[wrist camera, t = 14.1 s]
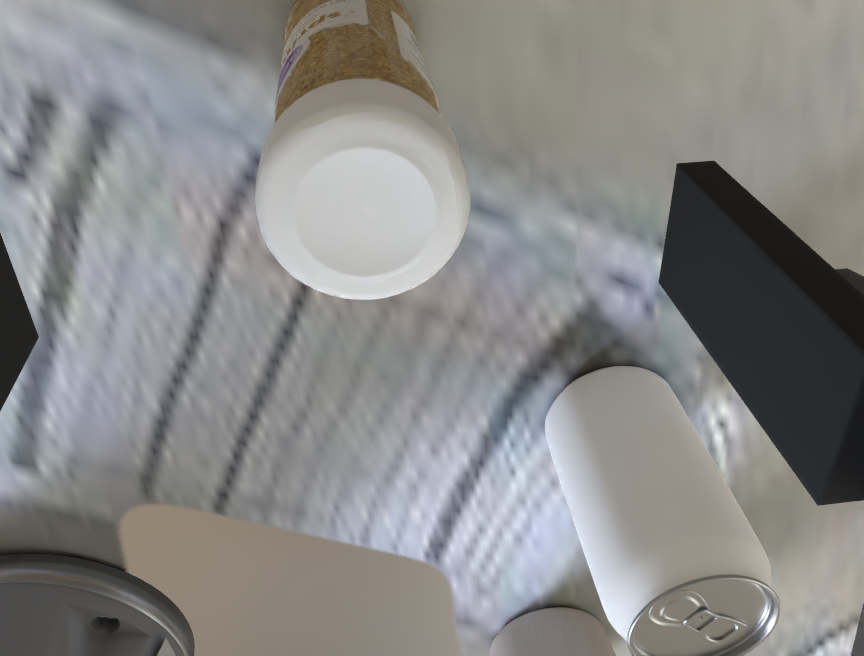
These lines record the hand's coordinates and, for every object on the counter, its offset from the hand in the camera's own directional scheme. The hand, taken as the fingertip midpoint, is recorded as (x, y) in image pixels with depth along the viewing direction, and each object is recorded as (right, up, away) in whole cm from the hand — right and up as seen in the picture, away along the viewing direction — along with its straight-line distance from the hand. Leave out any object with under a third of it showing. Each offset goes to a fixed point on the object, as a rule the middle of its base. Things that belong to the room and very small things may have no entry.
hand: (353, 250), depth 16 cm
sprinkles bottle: (-1, +8, +12) cm, 15 cm away
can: (+10, -6, +23) cm, 26 cm away
